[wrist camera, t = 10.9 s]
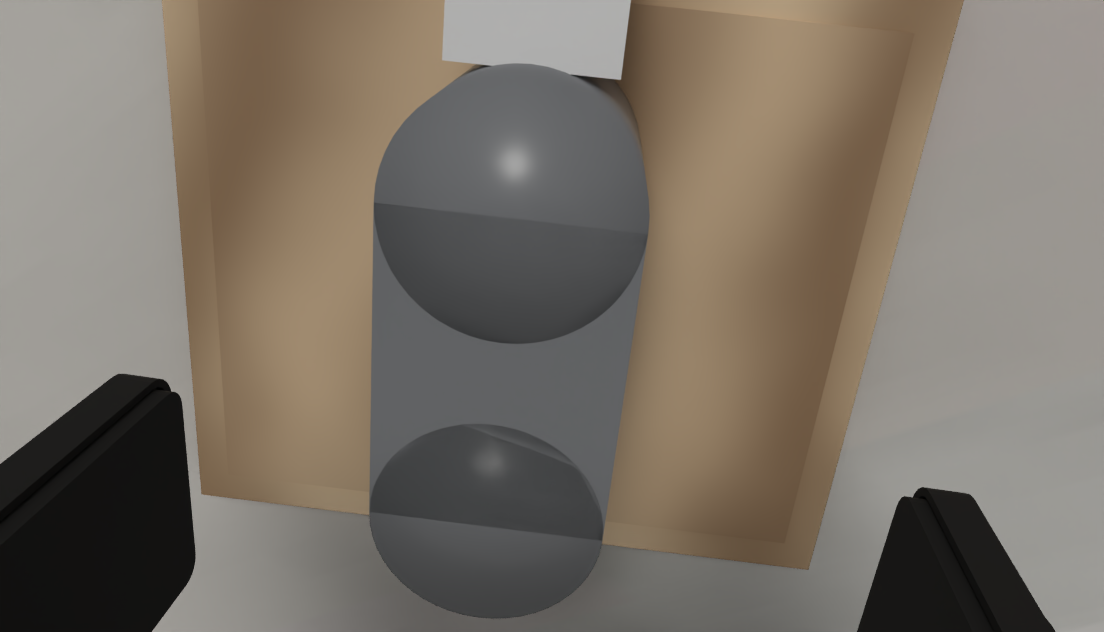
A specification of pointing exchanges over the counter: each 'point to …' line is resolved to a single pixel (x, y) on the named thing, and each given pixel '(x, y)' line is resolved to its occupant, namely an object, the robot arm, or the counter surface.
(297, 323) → the board
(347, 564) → the counter surface
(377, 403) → the usb stick
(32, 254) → the counter surface
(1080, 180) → the counter surface
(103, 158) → the counter surface
